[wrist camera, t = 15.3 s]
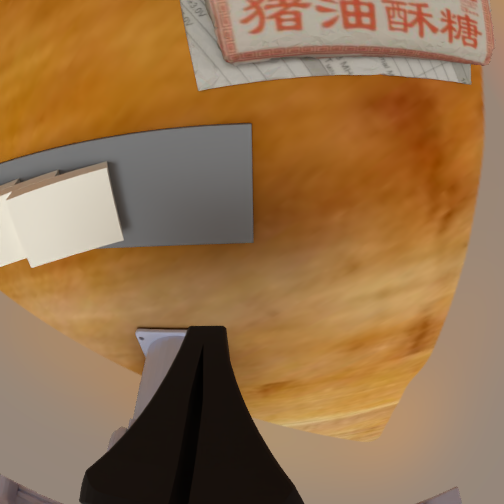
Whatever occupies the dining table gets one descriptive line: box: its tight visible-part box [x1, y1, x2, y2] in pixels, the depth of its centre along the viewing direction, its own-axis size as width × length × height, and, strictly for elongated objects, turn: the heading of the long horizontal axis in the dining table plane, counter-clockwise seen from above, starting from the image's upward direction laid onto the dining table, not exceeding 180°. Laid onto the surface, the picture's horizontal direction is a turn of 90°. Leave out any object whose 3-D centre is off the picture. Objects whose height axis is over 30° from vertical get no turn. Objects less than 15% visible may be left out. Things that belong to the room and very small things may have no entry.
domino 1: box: [0, 170, 60, 267], centre depth 16 cm, size 2×5×7 cm
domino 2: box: [6, 161, 124, 268], centre depth 16 cm, size 2×5×7 cm
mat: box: [0, 123, 253, 249], centre depth 18 cm, size 8×28×1 cm, turn 91°
